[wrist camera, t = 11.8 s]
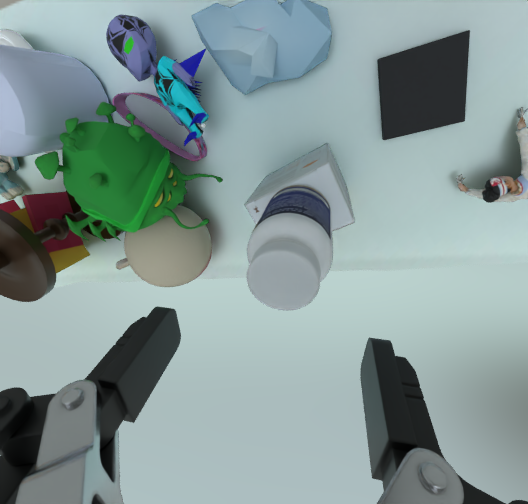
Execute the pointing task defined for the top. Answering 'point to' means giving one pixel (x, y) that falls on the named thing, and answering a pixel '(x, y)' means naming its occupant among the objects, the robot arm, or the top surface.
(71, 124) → the figurine
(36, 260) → the candlestick
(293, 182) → the small box
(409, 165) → the top surface
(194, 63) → the figurine
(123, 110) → the headband
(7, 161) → the stuffed animal
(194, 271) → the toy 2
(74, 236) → the toy
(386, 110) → the pad
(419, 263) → the top surface
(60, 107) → the soap bottle
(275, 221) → the pill bottle
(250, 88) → the polygonal blue rock
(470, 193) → the figurine
